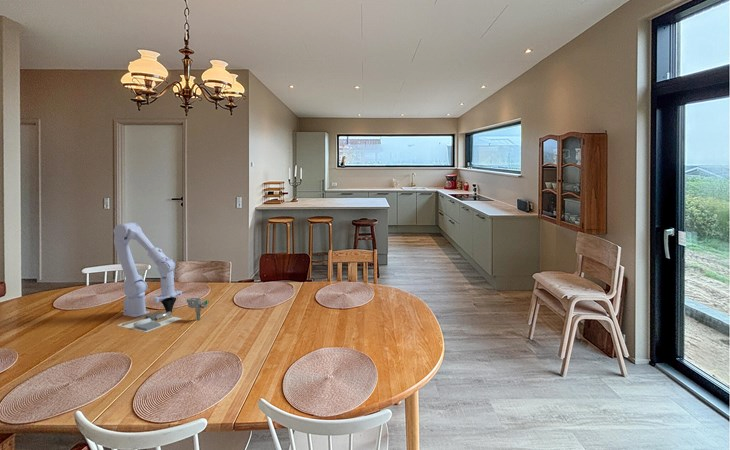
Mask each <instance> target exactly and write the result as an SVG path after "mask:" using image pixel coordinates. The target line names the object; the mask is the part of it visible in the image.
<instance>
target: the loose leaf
mask: <svg viewBox="0 0 730 450" xmlns="http://www.w3.org/2000/svg"><path fill="white" fill-rule="evenodd" d="M152 313H153V314H151V313H149V314H150V315H148V314H147V315H148V316H146V318H147V319H148V318H150V319H152V320H160V319H162V318H165V317H168V316H173V315H172V314H173V312H172V313H171V312H170V311H168V312H166V311H165V312H163V311H157V312H152Z"/></svg>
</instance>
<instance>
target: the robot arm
mask: <svg viewBox="0 0 730 450" xmlns="http://www.w3.org/2000/svg"><path fill="white" fill-rule="evenodd" d="M112 232H113V235H114V236H113V245H114V248H115V250H116V251H115V252H116V253H117V257H118V258H119V259H118V260H119V263H120V265H121V268H122V271H123V274H124V277H125V279H124V282H123V287H124V289H123V293H124V295H125V297H124V298H123V302H122V303H123V313H122V315H124V316H126V317H127V316H128V317H132V318H139V317H142V316H145V315H148V314H151V311H149V310H146V309H147V308H146V292H147V291H148V283H147V282H146V281H145V280H144V277H143V276H142V275H140V274H139V273H138V269H137V265H136V264H135V259H134V258H133V255H132V251H131V249H130V245H129V242H130V241H131V240H133V241H134V240H135V241H136V242H137V243H138V244H139V245H140V246H141V247H142V248H143V249H144V250H146V251H147V256H148V257H149V258H150V259H151V261H152V262H153V263H154V264H155V265H156V266H157V267H156V268H157V271H158V273H159V275H160V276H159V277H160V289H161V290H160V292H161V293H160V294H159V295H157V296H156V297H154V298H153V303H156V304H157V303H159V302H160V303H161V304H162V305H163V307H164V310H165V312H168V311H170V312H171V313H172V314H173V308H174V305H175V303H176V301H177V297H178V296H182V295H183V291H182V290H175V276H174V275H175V273H174V270H175V268H176V262H175V261H174V260H173V259H172V258H169V257H168V256H167V255H165V253H164V252H163V249H162V248H159V247H156V246H154V244H152V242H151V241H150V240H149V239H148V237H147V236H146V234H144V232H143V230H142V227H141V226H140V225H139V224H138V223H136V222H135V221H129V222H126V223H119V224H116V226H115V227H114V228H113V230H112Z"/></svg>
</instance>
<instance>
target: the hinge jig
mask: <svg viewBox="0 0 730 450" xmlns="http://www.w3.org/2000/svg"><path fill="white" fill-rule="evenodd" d="M153 313H154V312H152V313H151V312H150V313H147V314H144V315H141V316H139V317H136V318H135V319H131V320H129V321H125V322H121V323H119V324H117V325H116V326H118V327H121V328H122V327H123V328H127V329H131V330H136V331H139V332H140V331H141V332H144V333H147V332H150V331H153V330H157V329H159V328H162V327H164V326H167V325H169V324H172V323H174V322H177V321H180V320H182V319H183V317H182V318H181V317H177V316H173V315H171V316H168V317H165V318H162V319H160V320H152V319H150V318H148V319H147V318H146V316H148V315H150V314H153Z"/></svg>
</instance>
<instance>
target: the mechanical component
mask: <svg viewBox="0 0 730 450" xmlns="http://www.w3.org/2000/svg"><path fill="white" fill-rule="evenodd" d="M186 303H187V307H188V308H190V309H195V310H194V312H195V313H196V315H195V316H196V321H200V320H201V311H202V309H206V308H207V307H208V305H209V303H210V302H209V300H208V299H204V300H202V298H195V297H190V298H187V299H186Z"/></svg>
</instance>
